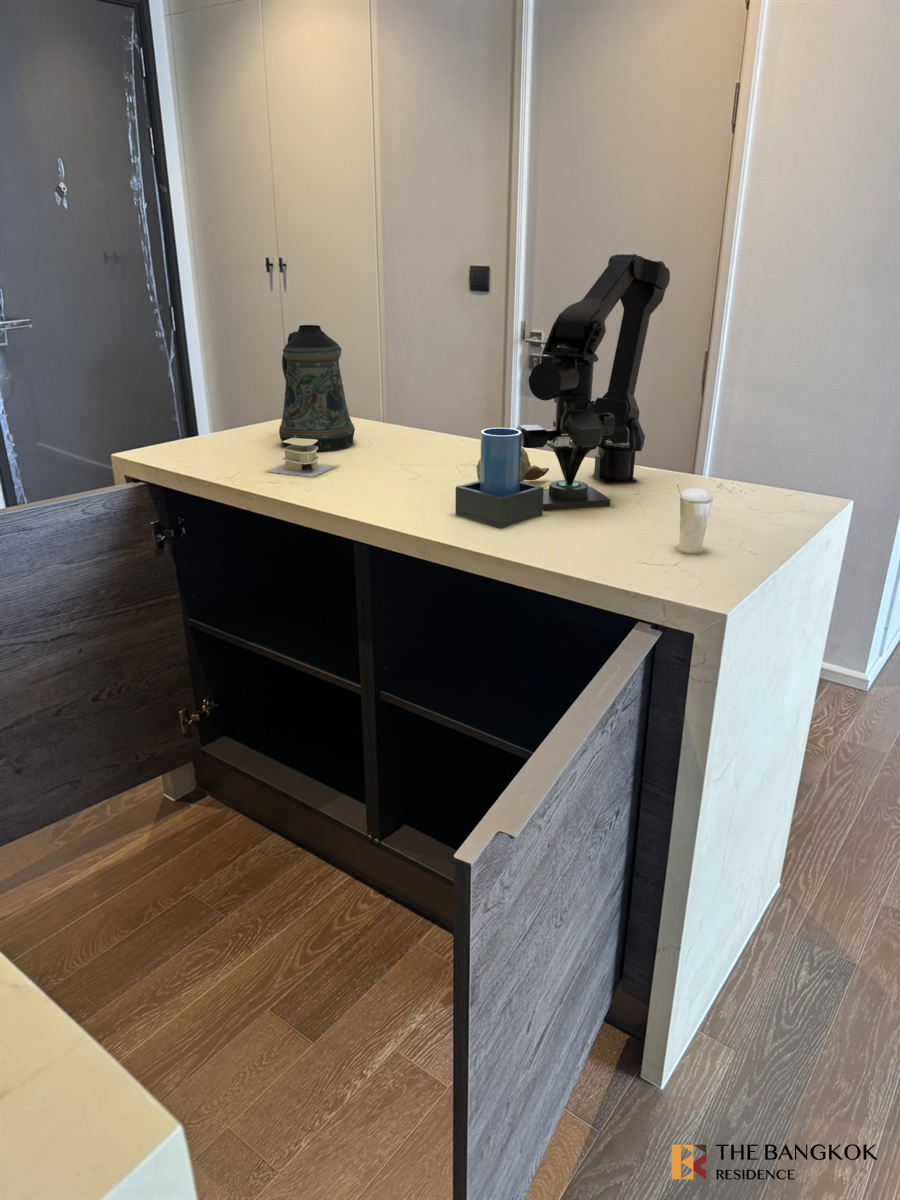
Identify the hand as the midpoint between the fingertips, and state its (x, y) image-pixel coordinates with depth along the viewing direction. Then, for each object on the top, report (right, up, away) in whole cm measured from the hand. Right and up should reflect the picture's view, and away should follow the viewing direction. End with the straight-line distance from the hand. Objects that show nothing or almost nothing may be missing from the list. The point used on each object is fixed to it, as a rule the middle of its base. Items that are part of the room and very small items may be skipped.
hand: (569, 483), depth 149 cm
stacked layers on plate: (-50, +6, +21) cm, 54 cm away
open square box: (-12, -6, -6) cm, 15 cm away
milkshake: (+14, -13, -22) cm, 29 cm away
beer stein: (-51, +15, +43) cm, 68 cm away
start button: (0, -2, +1) cm, 2 cm away
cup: (-12, -5, -7) cm, 15 cm away
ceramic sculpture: (-10, +1, +11) cm, 15 cm away
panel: (0, -3, +1) cm, 3 cm away
